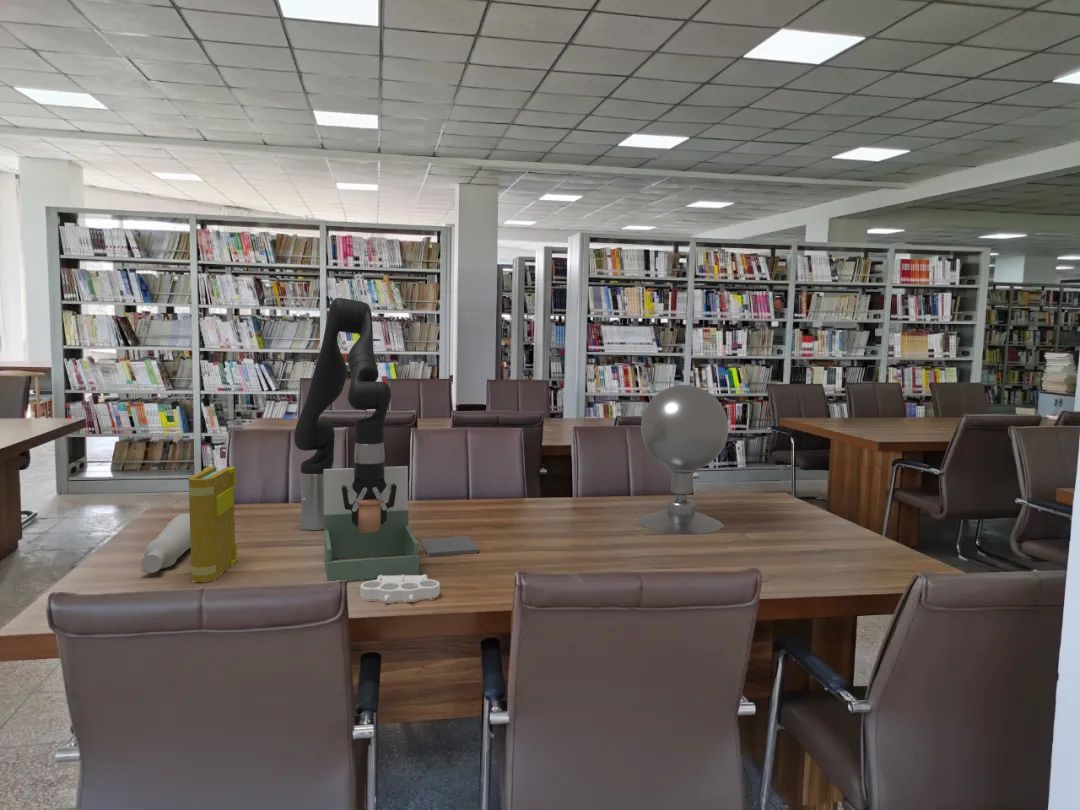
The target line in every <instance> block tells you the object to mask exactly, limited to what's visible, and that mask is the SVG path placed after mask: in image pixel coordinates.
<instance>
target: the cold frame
mask: <svg viewBox="0 0 1080 810" xmlns="http://www.w3.org/2000/svg"><path fill="white" fill-rule="evenodd" d="M408 476H409V466H408V465H404V466H403V465H401V466H384V480H385V482H386V483H389V484H392V483H395V484H396V486H397V489H396V495H395V502H394V506H393V507H390V508H388V509H387V520H386V522H384V524H381V530H380V531H378V532H374V533H362V532H358V531H357V526H355V525H354V524H353V523H352V511H351V510H346V509H345V507H344V501H343V494H342V488H341V487H342V485H352V484H353V482H354V467H349V468H347V467H345V468H332V469H324V529H323V535H324V536H323V537H324V538H323V539H324V541H323V542H324V543H323V544H324V546H323V547H324V550H323V551H324V564H325V565H324V566H326V567H325V573H326V574H327V575H326V580H327V581H336V580H347V581H348V582H350V581H349V580H360V581H363V580H362V579H372V580H375V579H374V578H378V576H379V575H382V576H398V575H420V556H419V542H418V540H417V538H416V537H415V534H414V533H413V531H412V529H411V528H410V525H409V509H408V508H409V491H408V490H409V488H408V487H409V479H408V478H409V477H408ZM389 494H390V492H389V491H388V488H385V489H384V491H383V492H382V493H381V496H382V498H383V500H384V502H385V503H387V502H388V501H389ZM356 496H357V493H356V492H355V491H354V490H353V489H351V491H350V493H349V494H348V500H349V504H353V502H354V500H355V498H356ZM384 555H385V556H387V557H385V556H384ZM395 555H396V556H395ZM397 555H398V556H397ZM399 555H400V556H399ZM369 556H370V557H371V558H370V557H369ZM381 556H384V557H381ZM355 557H357V558H360V559H357V558H355ZM367 557H369V558H367ZM372 557H373V558H372ZM343 558H344V559H346V560H344V559H343ZM354 558H355V559H354ZM342 559H343V560H342Z"/></svg>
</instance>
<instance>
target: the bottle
mask: <svg viewBox="0 0 1080 810" xmlns="http://www.w3.org/2000/svg"><path fill="white" fill-rule="evenodd" d="M189 549H191V545H190V513H180V514H178V515H175V517H174V518H172V519H171V520H170V521H169V522H168V523H167V524H166V526H165V528H164V529H163V530H162V531H161V532H160V533H159V535H157V537H155V539H154V540H151V541H150V542H149V543H148V544H147V545H146V547H145V548H144V552H143V553H144V557H143V558H142V560H141V567H142V569H143V570H144V571H146V572H147V573H153V574H155V573H156V572H159V570H164V569H163V568H166V569H168V568H167V567H169V568H171V567H173V566H174V564H176V563H177V559H179V558H180V557H181V556H182V555H183V554H184V553H185V552H187V551H188V550H189Z"/></svg>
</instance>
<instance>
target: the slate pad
mask: <svg viewBox="0 0 1080 810" xmlns="http://www.w3.org/2000/svg"><path fill="white" fill-rule="evenodd" d="M421 543H422V544H421ZM420 544H421V545H423V546H422V548H423V550H424V551H425V552H427V553H426V554H427V556H428V557H429V556H431V557H439V556H438V555H444V556H451V555H450V554H457V555H464V554H463V553H470V554H478V553H477V552H479V553H480V548H479V547H478V546H477V545H476V544H475V542H474V541H473V539H471V538H470V536H469V535H462V536H447V537H445V536H444V537H433V538H432V537H431V538H420ZM475 552H476V553H475Z"/></svg>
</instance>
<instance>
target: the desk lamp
mask: <svg viewBox="0 0 1080 810" xmlns="http://www.w3.org/2000/svg"><path fill="white" fill-rule="evenodd" d="M640 434H641V439H642V443H643V444H644V447H645V449H646V451H647V452H648V454H649V455H650V456H651V457H652V458H653V459H654V460H655V461H656V462H658V463H659V464H660V465H662V466H664V467H666V469H667V470H669V471H671V481H670V492H671V493H673V494H675V497H673V498H670V499H669V500H667V503H666V508H665V509H663V510H659V511H656V512H653V513H649V514H645V515H643V516H640V517H639V518H638V520H637V522H638V524H639V525H641V526H643V527H645V528H646V529H649V530H654V531H657V532H662V533H668V534H678V535H704V534H705V533H707V534H712V533H711V532H713V533H716V532H715V531H717V532H719V531H718V530H720V529H721V528H722V526H723V525H724V523H723V524H722V523H721V522H722V521H720V520H718V519H716V518H713V517H711V516H709V515H705V514H704V513H701V512H699V511H696V509H697V508H696V507H697V505H696V502H695V501H694V500H692V499H689V498H687V497H688V495H690V494H692V493H693V491H694V490H693V488H694V473H695V472H698V471H699V470H700V469H702V468H704V467H707V466H708V465H709V464H711V463H712V462H714V461H715V460H716V459H717V458H718V456H719V455H721V453H722V451H723V450H724V448H725V445H726V444H727V441H728V437H729V436H728V435H729V419H728V416H727V413H726V411H725V409H724V407H723V405H722V404H721V402H720V401H719V399H717V398H716V396H714V395H713V394H712V393H710V392H709V391H708V390H706V389H704V388H701V387H699V386H696V385H690V384H680V385H674V386H671V387H667V388H666V389H663V390H661V391H660V392H658V393H657V394H656V395H655V396H654V397H652V399H651V400H650V401H649V402H648V403H647V405H646V406H645V408H644V411H643V413H642V417H641V423H640ZM720 531H721V530H720ZM705 535H706V534H705Z"/></svg>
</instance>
